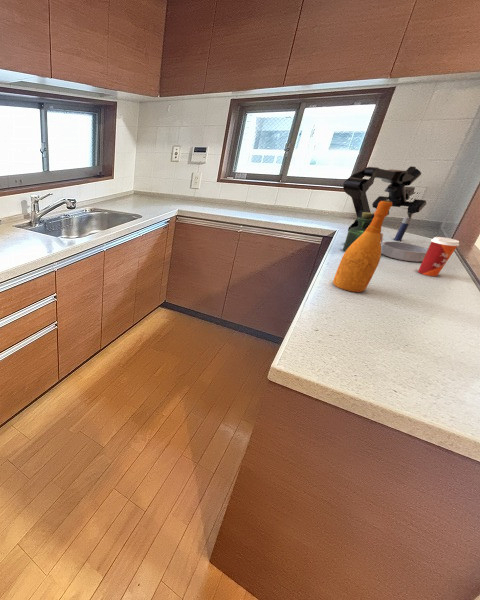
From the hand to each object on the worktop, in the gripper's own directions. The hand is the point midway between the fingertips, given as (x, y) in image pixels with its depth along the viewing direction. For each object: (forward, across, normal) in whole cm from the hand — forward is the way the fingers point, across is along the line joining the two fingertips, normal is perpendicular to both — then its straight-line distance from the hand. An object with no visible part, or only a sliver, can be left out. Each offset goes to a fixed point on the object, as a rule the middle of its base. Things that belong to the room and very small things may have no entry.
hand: (399, 216), depth 162 cm
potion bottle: (-15, -3, +37) cm, 40 cm away
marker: (+15, 0, +2) cm, 15 cm away
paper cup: (-13, -31, +38) cm, 51 cm away
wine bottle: (-43, -27, +72) cm, 88 cm away
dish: (-4, -15, +26) cm, 30 cm away
